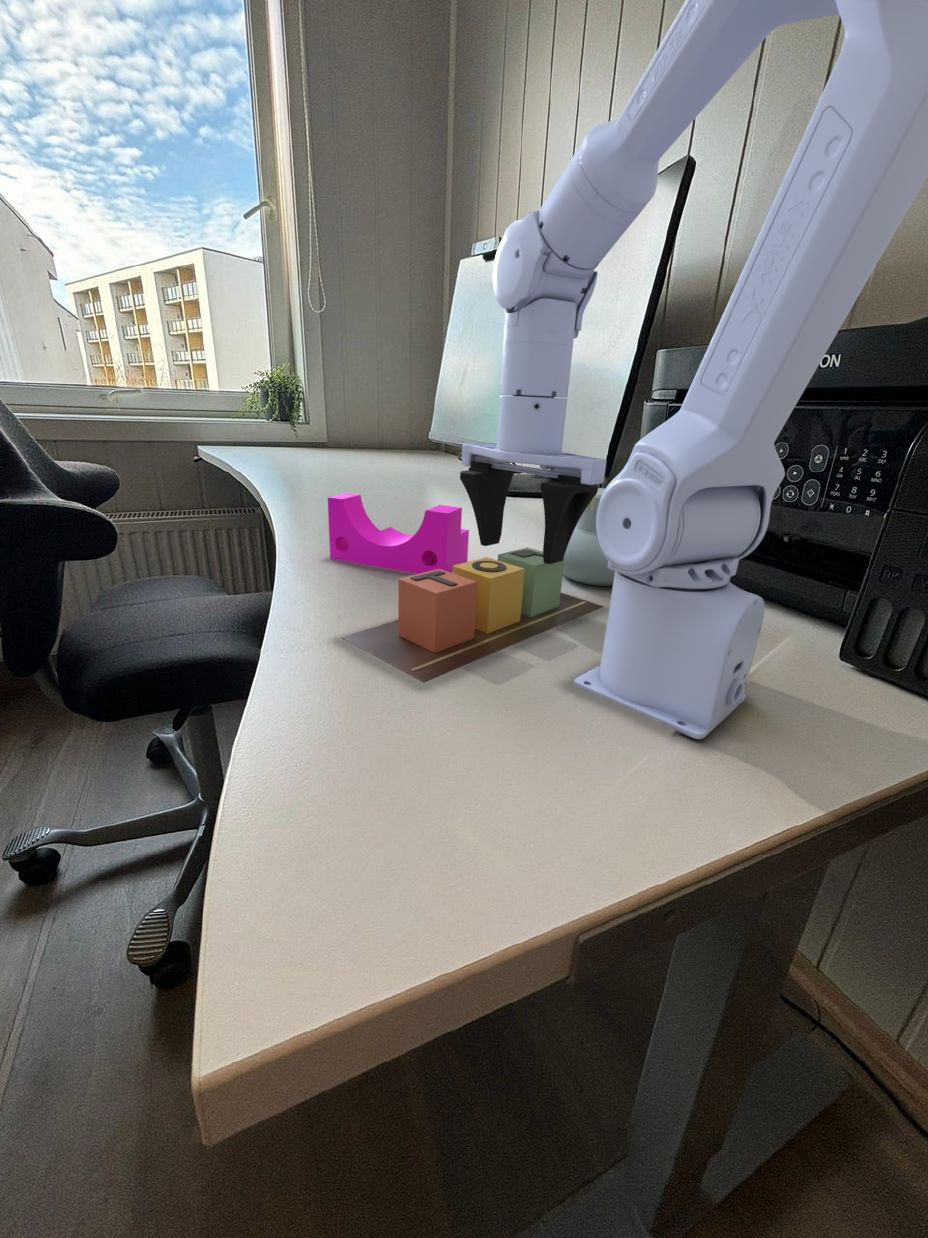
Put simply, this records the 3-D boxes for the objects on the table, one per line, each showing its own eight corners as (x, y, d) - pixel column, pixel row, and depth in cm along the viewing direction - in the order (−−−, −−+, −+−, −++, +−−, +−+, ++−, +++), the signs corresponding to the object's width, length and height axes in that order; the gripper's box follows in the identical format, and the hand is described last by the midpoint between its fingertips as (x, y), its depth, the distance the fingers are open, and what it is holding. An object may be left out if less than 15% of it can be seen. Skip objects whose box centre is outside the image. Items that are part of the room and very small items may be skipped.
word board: (603, 609, 56) (603, 605, 56) (423, 686, 40) (423, 681, 40) (524, 584, 62) (524, 580, 62) (341, 641, 46) (341, 636, 46)
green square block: (559, 606, 55) (565, 556, 53) (530, 617, 52) (536, 564, 50) (523, 594, 58) (527, 545, 56) (494, 604, 55) (497, 553, 53)
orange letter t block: (474, 638, 47) (478, 580, 45) (434, 653, 44) (437, 591, 42) (437, 622, 50) (439, 566, 48) (397, 635, 47) (398, 576, 45)
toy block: (467, 567, 67) (470, 504, 65) (445, 581, 62) (448, 513, 59) (358, 549, 72) (357, 489, 70) (330, 560, 67) (327, 497, 64)
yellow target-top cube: (520, 621, 51) (525, 566, 49) (487, 634, 48) (491, 576, 46) (483, 607, 54) (487, 555, 52) (450, 618, 51) (452, 563, 49)
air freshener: (563, 562, 71) (572, 482, 67) (630, 570, 69) (644, 488, 66) (553, 589, 61) (564, 496, 58) (632, 599, 59) (648, 504, 56)
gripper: (634, 401, 46) (610, 562, 51) (499, 395, 55) (490, 532, 60) (586, 399, 41) (565, 577, 46) (448, 392, 50) (443, 541, 55)
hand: (520, 552), depth 53 cm, fingers open, 7 cm apart
